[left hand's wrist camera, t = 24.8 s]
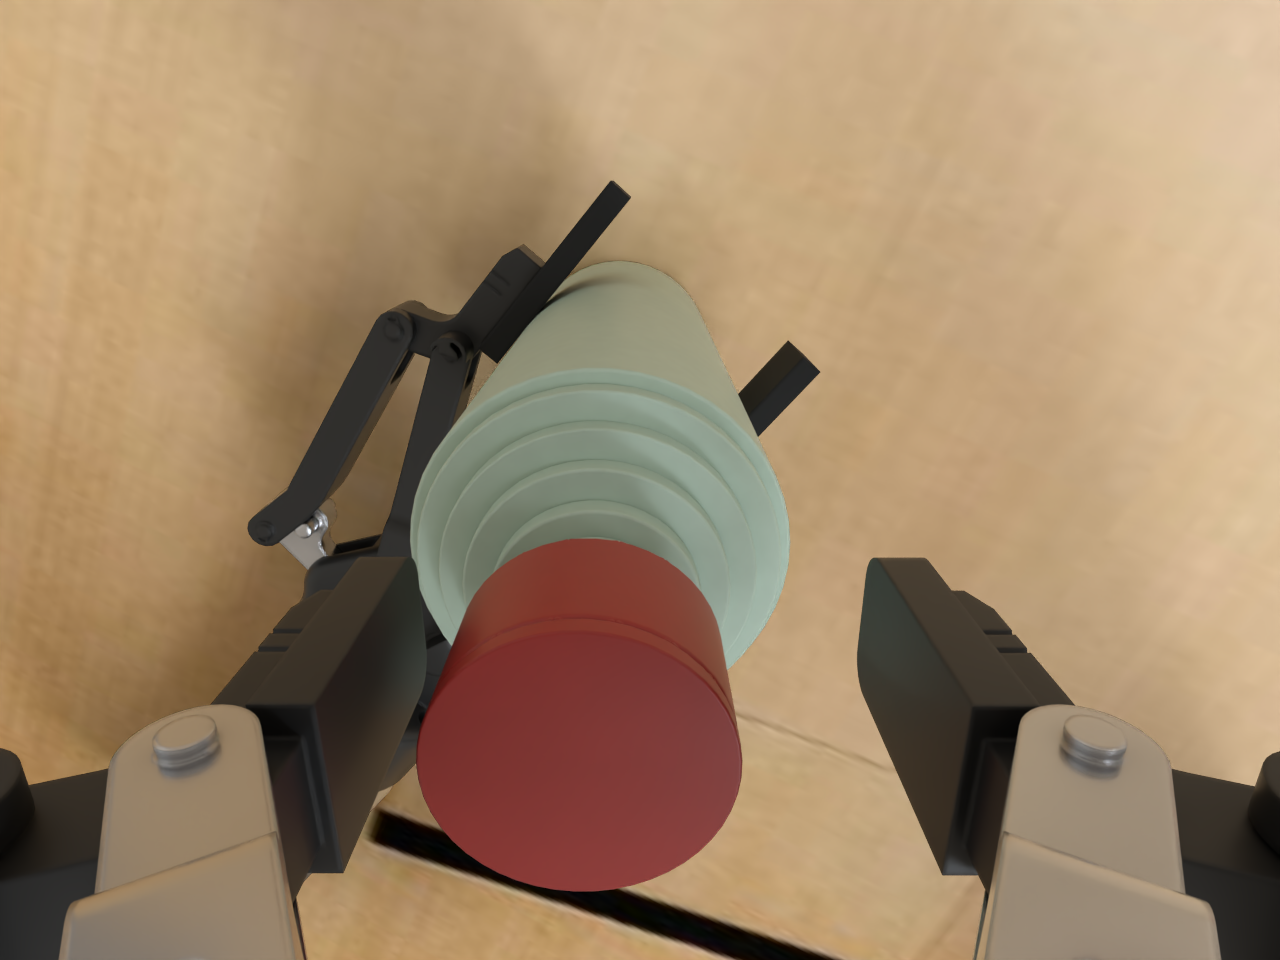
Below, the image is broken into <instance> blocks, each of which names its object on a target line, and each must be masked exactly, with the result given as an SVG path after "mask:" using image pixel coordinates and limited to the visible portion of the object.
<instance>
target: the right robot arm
mask: <svg viewBox="0 0 1280 960" xmlns="http://www.w3.org/2000/svg"><path fill="white" fill-rule="evenodd" d="M630 198H631V196H629V195H628V194H627V193H626V192H625V191H624V190H623V189H622V188H621V187H620V186H619V185H617V184H616V183H615V182H614V181H610V182H609V184H608V185H607V186H606V187H605V189H604V190H603V191H602V192H601V194H600V195H599V196H598V197H597V199H596V200H595V201H594V202H593V204H592V205H591V206H590V208H589V209H588V210H587V211H586V213H585V214H584V215H583V216H582V218H581V219H580V220H579V221H578V223H577V224H576V225H575V227H574V228H573V229H572V230H571V232H570V233H569V234H568V235H567V237H566V238H565V239H564V240H563V242H562V243H561V244H560V245H559V247H558V248H557V249H556V251H555V252H554V253H553V254H552V256H551V257H550V258H549V259H548V261H547V262H546V263H545V262H544V261H543V260H542V259H540V258H539V257H538V256H537V255H536V254H535V253H533V252H532V251H531V250H530V249H529V248H528V247H526V246H525V245H524V244H523V245H521V246H520V247H518V248H516V249H514V250H512V251H511V252H509V253H507V254H505V255H503V256H502V257H501V259H500V260H499V261H498V263H497V264H496V265H495V267H494V268H493V269H492V271H491V272H490V273H489V274H488V276H487V277H486V278H485V280H484V281H483V282H482V283H481V285H480V286H479V287H478V289H477V290H476V291H475V292H474V294H473V295H472V296H471V298H470V299H469V300H468V302H467V303H466V304H465V305H464V307H463V308H462V309H461V311H460V312H459V313H458V314H454V315H446V314H442V313H439V312H436V311H434V310H431V309H428V308H427V307H426V306H425V305H424V304H423V303H421V302H418V301H407V302H405V303H402V304H400V305H398V306H396V307H394V308H392V309H391V310H389V311H387V312H385V313H383V314H381V315H380V317H379V318H378V319H377V320H376V322H375V324H374V326H373V328H372V329H371V331H370V333H369V335H368V337H367V339H366V341H365V343H364V345H363V347H362V348H361V350H360V352H359V354H358V356H357V358H356V360H355V362H354V364H353V365H352V367H351V369H350V371H349V373H348V375H347V377H346V379H345V381H344V383H343V384H342V386H341V388H340V390H339V392H338V394H337V396H336V398H335V400H334V401H333V403H332V405H331V407H330V409H329V411H328V413H327V415H326V417H325V419H324V420H323V422H322V424H321V426H320V428H319V430H318V432H317V434H316V436H315V437H314V439H313V441H312V443H311V445H310V447H309V449H308V451H307V453H306V455H305V456H304V458H303V460H302V462H301V464H300V466H299V468H298V470H297V472H296V473H295V475H294V477H293V479H292V481H291V483H290V485H289V487H287V488H286V489H285V490H284V491H282V492H281V493H280V494H279V495H278V496H277V497H275V498H274V499H273V500H272V501H271V502H270V503H269V504H267V505H266V506H265V507H264V508H263V509H262V510H261V511H259V512H258V513H257V514H256V515H255V516H254V517H253V518H252V519H251V520H250V521H249V523H248V532H249V535H250V536H251V538H252V539H253V540H254V541H255V542H257V543H258V544H261V545H264V546H273V545H275V544H277V543H279V542H280V543H281V544H282V545H283V546H284V547H285V548H286V549H287V550H288V551H289V552H290V553H291V554H292V555H293V556H294V557H295V558H296V559H297V560H298V561H299V562H300V563H301V564H302V565H303V566H304V567H305V568H306V569H307V570H308V571H307V573H306V576H305V580H304V593H303V597H302V599H301V601H300V602H302V601H303V600H305V599H307V598H308V597H310V596H311V595H313V594H315V593H316V592H318V591H320V590H333V589H334V588H335V587H336V585H337V584H338V583H339V582H340V580H341V579H342V578H343V576H344V575H345V574H346V572H347V571H348V570H349V569H350V567H351V566H352V565H353V563H354V562H355V561H356V560H357V559H358V558H359V557H412V553H411V544H410V531H411V516H412V510H413V505H414V499H415V495H416V492H417V489H418V486H419V483H420V480H421V477H422V475H423V473H424V471H425V469H426V467H427V465H428V463H429V461H430V459H431V457H432V455H433V453H434V452H435V450H436V449H437V448H438V446H439V445H440V444H441V442H442V441H443V439H444V438H445V437H446V435H447V434H448V432H449V431H450V430H451V428H452V427H453V426H454V424H455V423H456V422H457V420H458V419H459V418H460V416H461V415H462V414H463V412H464V411H465V409H466V407H467V403H468V400H469V396H470V393H471V389H472V385H473V382H474V378H475V375H476V371H477V368H478V364H479V360H480V357H481V353H482V352H483V353H485V354H486V355H487V356H488V357H490V358H491V359H492V360H493V361H495V362H496V363H498V362H499V361H500V360H501V358H502V357H503V356H504V355H505V353H506V352H507V351H508V350H509V348H510V347H511V346H512V345H513V343H514V342H515V341H516V340H517V338H518V337H519V336H520V335H521V333H522V332H523V331H524V330H525V328H526V327H527V326H528V325H529V324H530V322H531V321H532V320H533V319H534V317H535V316H536V315H537V314H538V312H539V311H540V310H541V309H542V307H543V306H544V305H545V304H546V302H547V301H548V300H549V299H550V297H551V296H552V295H553V294H554V293H555V291H556V290H557V289H558V288H559V286H560V285H561V284H562V283H563V281H564V280H565V279H566V278H567V276H568V275H569V274H570V273H571V271H572V270H573V269H574V268H575V266H576V265H577V264H578V263H579V261H580V260H581V259H582V258H583V257H584V255H585V254H586V253H587V252H588V250H589V249H590V248H591V247H592V245H593V244H594V243H595V242H596V240H597V239H598V238H599V237H600V235H601V234H602V233H603V232H604V230H605V229H606V228H607V227H608V225H609V224H610V223H611V222H612V221H613V219H614V218H615V217H616V216H617V214H618V213H619V212H620V211H621V209H622V208H623V207H624V206H625V204H626V203H627V202H628V201H629V199H630ZM415 353H417V354H419V355H422V356H425V357H428V358H430V362H429V366H428V370H427V374H426V378H425V382H424V386H423V389H422V393H421V397H420V401H419V405H418V409H417V413H416V417H415V420H414V424H413V428H412V432H411V436H410V440H409V444H408V448H407V451H406V455H405V459H404V463H403V467H402V471H401V475H400V479H399V482H398V486H397V490H396V494H395V498H394V502H393V506H392V510H391V513H390V516H389V518H388V520H387V522H386V525H385V528H384V530H383V534H379V535H375V536H370V537H366V538H361V539H357V540H352V541H348V542H343V543H339V544H335V543H334V542H333V540H332V538H331V536H330V529H331V526H332V525H333V523H334V522H335V520H336V518H337V511H336V508H335V507H336V506H335V502H334V501H333V500H332V499H330V498H329V497H330V496H331V495H332V494H333V493H334V492H335V491H336V490H337V489H338V488H339V486H340V485H341V484H342V483H343V482H344V480H345V479H346V477H347V475H348V474H349V472H350V471H351V469H352V467H353V465H354V463H355V462H356V460H357V458H358V456H359V454H360V452H361V451H362V449H363V447H364V445H365V443H366V442H367V440H368V438H369V436H370V434H371V433H372V431H373V429H374V427H375V425H376V424H377V422H378V420H379V418H380V416H381V415H382V413H383V411H384V409H385V407H386V406H387V404H388V402H389V400H390V398H391V397H392V395H393V393H394V391H395V389H396V387H397V386H398V384H399V382H400V380H401V378H402V377H403V375H404V373H405V371H406V369H407V368H408V366H409V364H410V362H411V360H412V359H413V357H414V355H415ZM819 373H820V371H819V370H818V369H817V368H816V367H815V366H814V365H813V364H812V363H811V362H810V361H809V360H808V359H807V358H806V357H805V356H804V355H803V354H802V353H801V352H800V351H799V350H798V349H797V348H796V347H795V346H794V345H793V344H791V343H790V342H789V341H787V342H786V343H785V344H784V346H783V347H782V348H781V349H780V350H779V351H778V352H777V353H776V354H775V355H774V356H773V357H772V358H771V359H770V361H769V362H768V363H767V364H766V365H765V366H764V367H763V368H762V369H761V370H760V371H759V372H758V373H757V374H756V376H755V377H754V378H753V379H752V380H751V381H750V382H749V383H748V384H747V385H746V386H745V387H744V388H743V390H742V391H741V392H740V393H739V394H738V395H739V398H740V400H741V402H742V404H743V406H744V408H745V410H746V413H747V415H748V417H749V419H750V421H751V423H752V425H753V428H754V430H755V432H756V434H757V436H759V435H760V434H761V433H762V432H763V431H764V430H765V429H766V428H767V427H768V426H769V425H770V424H771V423H772V422H773V421H774V420H775V419H776V418H777V417H778V416H779V415H780V414H781V412H782V411H783V410H784V409H785V408H786V407H787V406H788V405H789V404H790V403H791V402H792V401H793V400H794V399H795V398H796V397H797V396H798V395H799V394H800V393H801V392H802V391H803V390H804V389H805V387H806V386H807V385H808V384H809V383H810V382H811V381H812V380H813V379H814V378H815V377H816V376H817V375H818V374H819ZM420 596H421V605H422V614H423V623H424V631H425V640H426V650H427V666H426V676H425V682H424V686H423V690H422V693H421V695H420V697H419V700H418V702H417V704H416V707H415V709H414V711H413V714H412V716H411V718H410V720H409V723H408V725H407V727H406V730H405V732H404V734H403V737H402V739H401V741H400V744H399V746H398V748H397V750H396V753H395V755H394V757H393V760H392V762H391V764H390V767H389V769H388V771H387V773H386V776H385V778H384V780H383V783H382V785H381V787H380V790H379V792H378V794H377V796H376V799H375V801H374V803H373V806H372V808H371V810H372V809H373V808H374V807H375V806H376V805H377V804H378V803H379V802H380V801H381V800H382V799H383V798H384V797H385V796H386V795H387V794H388V793H389V792H390V790H391V788H392V786H393V785H394V784H395V783H397V782H398V781H399V780H400V779H401V778H402V777H403V776H404V775H405V774H406V773H407V772H408V771H409V770H410V769H411V768H412V767H413V766H414V765H415V764H416V747H417V740H418V735H419V730H420V726H421V724H422V721H423V718H424V716H425V713H426V711H427V708H428V706H429V703H430V700H431V698H432V696H433V693H434V690H435V688H436V685H437V683H438V680H439V678H440V675H441V673H442V670H443V668H444V665H445V662H446V660H447V657H448V655H449V652H450V650H451V647H452V646H451V644H450V643H449V642H448V640H447V639H446V638H445V637H444V635H443V634H442V632H441V630H440V628H439V627H438V625H437V623H436V622H435V620H434V618H433V616H432V614H431V613H430V611H429V609H428V608H427V605H426V603H425V601H424V598H423V596H422V593H421V591H420ZM300 602H299V603H300ZM371 810H370V812H371ZM310 874H311V873H308V874H307V876H306V878H305V880H306V879H307V878H308V877H309V876H310ZM305 880H304V881H305Z"/></svg>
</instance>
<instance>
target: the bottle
mask: <svg viewBox="0 0 1280 960" xmlns="http://www.w3.org/2000/svg"><path fill="white" fill-rule="evenodd" d="M566 539H568V540H569V539H605V540H617V541H619V542H620V541H621V542H624V543H627V544H631V545H634V546H636V547H639V548H642V549H645V550H647V551H649V552H651V553H653V554H655V555H657V556H659V557H662V558H664V559H665V560H667V561H668V562H670V563H671V564H672V565H674V566H675V567H676V568H678V569H679V570H680V571H681V572H683V573H684V574H685V575H686V576H687V577H688V578H689V579H690V580H691V581H692V582H693V583H694V584H695V585H696V586H697V588H698V589H699V590H700V591H701V592H702V594H703V595H704V597H705V598H706V600H707V602H708V603H709V605H710V606H711V609H712V611H713V613H714V616H715V618H716V620H717V623H718V627H719V631H720V634H721V640H722V645H723V651H724V656H725V661H726V667H727V670H728V669H729V668H730V667H731V666H732V665H733V664H734V663H735V662H736V661H737V660H738V659H739V658H740V657H741V656H742V655H743V654H744V653H745V651H746V650H747V649H748V648H749V646H750V645H751V644H752V643H753V642H754V640H755V639H756V638H757V636H758V635H759V634H760V632H761V631H762V630H763V628H764V627H765V625H766V623H767V621H768V619H769V618H770V616H771V614H772V612H773V610H774V609H775V607H776V604H777V602H778V599H779V596H780V594H781V591H782V589H783V586H784V582H785V577H786V573H787V569H788V563H789V551H790V531H789V519H788V514H787V509H786V505H785V500H784V496H783V493H782V491H781V488H780V485H779V483H778V480H777V477H776V475H775V473H774V470H773V468H772V466H771V464H770V462H769V460H768V458H767V455H766V453H765V451H764V449H763V447H762V445H761V443H760V440H759V438H758V436H757V434H756V432H755V430H754V428H753V425H752V423H751V421H750V419H749V417H748V415H747V413H746V410H745V408H744V406H743V404H742V402H741V400H740V398H739V395H738V393H737V391H736V389H735V387H734V385H733V383H732V380H731V378H730V376H729V374H728V372H727V370H726V368H725V365H724V363H723V361H722V359H721V357H720V355H719V353H718V350H717V348H716V346H715V344H714V342H713V340H712V338H711V335H710V333H709V331H708V329H707V327H706V325H705V323H704V320H703V318H702V316H701V314H700V312H699V310H698V308H697V306H696V305H695V303H694V301H693V300H692V298H691V297H690V296H689V294H688V293H687V292H686V291H685V290H684V289H683V288H682V287H681V286H680V284H678V283H677V282H676V281H675V280H673V279H672V278H671V277H669V276H668V275H666V274H664V273H663V272H661V271H659V270H657V269H655V268H652V267H650V266H647V265H644V264H640V263H635V262H628V261H611V262H603V263H599V264H595V265H592V266H589V267H586V268H584V269H582V270H579V271H578V272H576V273H574V274H573V275H571V276H569V277H568V278H567V279H566V280H564V281H563V283H562V284H561V285H560V286H559V288H558V289H557V290H556V291H555V293H554V294H553V295H552V296H551V297H550V299H549V300H548V301H547V302H546V304H545V305H544V306H543V307H542V309H541V310H540V311H539V312H538V314H537V315H536V316H535V317H534V319H533V320H532V321H531V322H530V324H529V325H528V326H527V327H526V328H525V330H524V331H523V332H522V334H521V335H520V337H519V338H518V339H517V341H516V342H515V343H514V345H513V346H512V347H511V349H510V350H509V351H508V353H507V354H506V355H505V357H504V358H503V360H502V361H501V362H500V364H499V365H498V366H497V368H496V369H495V370H494V372H493V373H492V374H491V376H490V377H489V378H488V380H487V381H486V382H485V384H484V385H483V387H482V388H481V389H480V391H479V392H478V393H477V395H476V396H475V397H474V399H473V400H472V401H471V403H470V404H469V405H468V407H467V408H466V409H465V411H464V412H463V414H462V415H461V416H460V418H459V419H458V420H457V422H456V423H455V424H454V426H453V427H452V428H451V430H450V431H449V432H448V434H447V435H446V437H445V438H444V439H443V441H442V442H441V444H440V445H439V446H438V448H437V449H436V450H435V452H434V453H433V455H432V457H431V459H430V461H429V463H428V465H427V467H426V469H425V471H424V473H423V475H422V477H421V480H420V483H419V486H418V489H417V492H416V495H415V499H414V505H413V510H412V516H411V531H410V544H411V553H412V558H413V559H414V561H415V563H416V566H417V571H418V578H419V587H420V591H421V593H422V596H423V598H424V601H425V603H426V605H427V608H428V609H429V611H430V613H431V614H432V616H433V618H434V620H435V622H436V623H437V625H438V627H439V628H440V630H441V632H442V634H443V635H444V637H445V638H446V639H447V640H448V642H449V643H450V644H451V646H452V645H453V642H454V640H455V637H456V635H457V632H458V630H459V627H460V625H461V622H462V619H463V617H464V614H465V612H466V609H467V607H468V605H469V603H470V602H471V600H472V598H473V596H474V595H475V593H476V592H477V591H478V589H479V588H480V587H481V585H482V584H483V583H484V582H485V581H486V580H487V579H488V578H489V577H490V576H491V575H492V574H493V573H494V572H495V571H496V570H497V569H499V568H500V567H501V566H503V565H504V564H505V563H507V562H508V561H510V560H511V559H513V558H515V557H517V556H518V555H520V554H522V553H523V552H526V551H529V550H531V549H534V548H537V547H539V546H542V545H545V544H549V543H553V542H557V541H562V540H566Z"/></svg>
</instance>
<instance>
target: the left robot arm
mask: <svg viewBox="0 0 1280 960" xmlns="http://www.w3.org/2000/svg"><path fill="white" fill-rule="evenodd" d="M426 666H427V650H426V640H425V631H424V623H423V614H422V605H421V596H420V587H419V578H418V571H417V566H416V563H415V561H414V559H413V558H412V557H359V558H358V559H357V560H356V561H355V562H354V563H353V565H352V566H351V567H350V569H349V570H348V571H347V572H346V574H345V575H344V576H343V578H342V579H341V580H340V582H339V583H338V584H337V585H336V587H335V588H334V589H333V590H320V591H318V592H316V593H315V594H313V595H311V596H310V597H308V598H307V599H305V600H303V601H302V602H300V603H298V604H297V605H295V606H293V607H292V608H291V609H290V610H289V611H288V612H287V613H286V615H285V616H284V617H283V618H282V619H281V621H280V622H279V623H278V624H277V625H276V627H275V628H274V629H273V634H269V635H268V636H267V637H266V639H265V640H264V641H263V642H262V643H261V645H260V646H259V650H258V652H254V653H253V654H252V655H251V657H250V658H249V659H248V660H247V661H246V663H245V664H244V665H243V666H242V667H241V669H240V670H239V671H238V672H237V673H236V675H235V676H234V677H233V678H232V679H231V681H230V682H229V683H228V684H227V685H226V687H225V688H224V689H223V690H222V691H221V693H220V694H219V695H218V696H217V697H216V699H215V700H214V701H213V702H212V703H211V705H207V706H199V707H195V708H190V709H186V710H183V711H180V712H177V713H174V714H171V715H169V716H166V717H164V718H161V719H159V720H157V721H155V722H153V723H151V724H149V725H148V726H146V727H144V728H143V729H141V730H139V731H138V732H137V733H135V734H134V735H133V736H131V737H130V738H129V739H128V740H127V741H125V742H124V743H123V744H122V745H121V746H120V748H119V749H118V750H117V751H116V752H115V754H114V756H113V758H112V759H111V761H110V765H109V769H104V770H100V771H95V772H91V773H86V774H81V775H76V776H71V777H66V778H62V779H57V780H52V781H47V782H42V783H37V784H32V785H28V782H27V779H26V777H25V774H24V771H23V768H22V765H21V762H20V760H19V758H18V757H17V755H15V754H14V753H12V752H11V751H8V750H5V749H2V748H0V960H308V958H307V952H306V946H305V941H304V935H303V929H302V923H301V918H300V912H299V908H298V903H297V898H296V896H297V894H298V892H299V890H300V888H301V886H302V884H303V882H304V880H305V878H306V876H307V874H308V873H344V870H345V868H346V866H347V863H348V861H349V859H350V856H351V854H352V852H353V849H354V847H355V845H356V843H357V840H358V838H359V836H360V833H361V831H362V829H363V826H364V824H365V822H366V820H367V817H368V815H369V813H370V810H371V808H372V806H373V803H374V801H375V799H376V796H377V794H378V792H379V790H380V787H381V785H382V783H383V780H384V778H385V776H386V773H387V771H388V769H389V767H390V764H391V762H392V760H393V757H394V755H395V753H396V750H397V748H398V746H399V744H400V741H401V739H402V737H403V734H404V732H405V730H406V727H407V725H408V723H409V720H410V718H411V716H412V714H413V711H414V709H415V707H416V704H417V702H418V700H419V697H420V695H421V693H422V690H423V686H424V682H425V676H426ZM857 667H858V677H859V683H860V687H861V691H862V694H863V696H864V698H865V701H866V703H867V705H868V707H869V710H870V712H871V714H872V717H873V719H874V721H875V723H876V726H877V728H878V730H879V732H880V735H881V737H882V739H883V742H884V744H885V746H886V748H887V751H888V753H889V755H890V757H891V760H892V762H893V764H894V766H895V769H896V771H897V773H898V776H899V778H900V780H901V782H902V785H903V787H904V789H905V791H906V794H907V796H908V798H909V800H910V803H911V805H912V807H913V810H914V812H915V814H916V816H917V819H918V821H919V823H920V825H921V828H922V830H923V832H924V834H925V837H926V839H927V841H928V844H929V846H930V848H931V850H932V853H933V855H934V857H935V859H936V862H937V864H938V866H939V868H940V871H941V873H942V875H979V877H980V879H981V882H982V884H983V886H984V888H985V893H984V898H983V903H982V908H981V912H980V918H979V923H978V929H977V935H976V941H975V946H974V952H973V958H972V960H1280V751H1279V752H1276V753H1273V754H1272V755H1270V756H1269V757H1267V758H1266V760H1265V761H1264V763H1263V765H1262V768H1261V771H1260V774H1259V777H1258V779H1257V782H1256V785H1255V787H1254V786H1249V785H1245V784H1240V783H1235V782H1230V781H1225V780H1220V779H1216V778H1211V777H1206V776H1201V775H1196V774H1191V773H1187V772H1182V771H1178V770H1174V769H1171V765H1170V761H1169V759H1168V758H1167V756H1166V754H1165V752H1164V751H1163V750H1162V749H1161V748H1160V746H1159V745H1158V744H1157V743H1156V742H1155V741H1153V740H1152V739H1151V738H1150V737H1149V736H1147V735H1146V734H1145V733H1143V732H1142V731H1141V730H1139V729H1137V728H1136V727H1134V726H1132V725H1131V724H1129V723H1127V722H1125V721H1123V720H1121V719H1119V718H1116V717H1114V716H1111V715H1109V714H1106V713H1103V712H1100V711H1097V710H1094V709H1090V708H1085V707H1081V706H1075V705H1074V704H1073V702H1072V701H1071V700H1070V699H1069V698H1068V696H1067V695H1066V694H1065V693H1064V692H1063V691H1062V689H1061V688H1060V687H1059V686H1058V685H1057V683H1056V682H1055V681H1054V680H1053V679H1052V678H1051V676H1050V675H1049V674H1048V673H1047V672H1046V670H1045V669H1044V668H1043V667H1042V666H1041V664H1040V663H1039V662H1038V661H1037V660H1036V659H1035V657H1034V656H1033V655H1032V654H1031V653H1027V648H1026V647H1025V645H1024V644H1023V643H1022V642H1021V641H1020V640H1019V638H1018V637H1017V636H1016V635H1012V630H1011V629H1010V628H1009V627H1008V625H1007V624H1006V623H1005V622H1004V621H1003V619H1002V618H1001V617H1000V616H999V615H998V613H997V612H996V611H995V610H994V609H993V608H991V607H990V606H988V605H986V604H985V603H983V602H981V601H980V600H978V599H976V598H975V597H973V596H972V595H970V594H968V593H967V592H965V591H951V589H950V588H949V587H948V585H947V584H946V583H945V582H944V580H943V579H942V578H941V576H940V575H939V574H938V573H937V571H936V570H935V569H934V567H933V566H932V565H931V564H930V562H929V561H928V560H927V559H925V558H872V559H871V561H870V562H869V565H868V568H867V572H866V580H865V589H864V597H863V606H862V615H861V624H860V633H859V641H858V651H857Z"/></svg>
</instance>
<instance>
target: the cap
mask: <svg viewBox="0 0 1280 960" xmlns="http://www.w3.org/2000/svg"><path fill="white" fill-rule="evenodd" d="M416 766H417V773H418V780H419V783H420V787H421V790H422V793H423V797H424V799H425V801H426V803H427V805H428V807H429V809H430V812H431V813H432V815H433V816H434V818H435V819H436V821H437V822H438V824H439V825H440V827H441V828H442V829H443V830H444V832H445V833H446V834H447V835H448V836H449V837H450V838H451V840H452V841H453V842H454V843H456V844H457V845H458V846H459V847H460V848H461V849H462V850H464V851H465V852H466V853H467V854H468V855H470V856H471V857H473V858H474V859H476V860H477V861H479V862H480V863H481V864H483V865H485V866H487V867H489V868H491V869H492V870H494V871H496V872H498V873H500V874H503V875H505V876H508V877H510V878H512V879H515V880H518V881H521V882H524V883H528V884H531V885H535V886H539V887H545V888H550V889H555V890H566V891H600V890H610V889H617V888H621V887H626V886H631V885H635V884H638V883H641V882H644V881H648V880H651V879H653V878H655V877H658V876H660V875H662V874H665V873H667V872H669V871H671V870H672V869H674V868H676V867H678V866H679V865H681V864H683V863H684V862H686V861H687V860H689V859H690V858H691V857H693V856H694V855H695V854H697V853H698V852H699V851H700V850H701V849H702V848H703V847H704V846H705V845H706V844H707V843H708V842H710V841H711V840H712V838H713V837H714V836H715V835H716V833H717V832H718V831H719V830H720V828H721V827H722V826H723V824H724V822H725V820H726V819H727V817H728V815H729V814H730V812H731V810H732V807H733V805H734V802H735V800H736V797H737V795H738V791H739V786H740V782H741V776H742V753H741V743H740V738H739V732H738V728H737V722H736V716H735V711H734V705H733V700H732V694H731V689H730V683H729V678H728V672H727V667H726V661H725V656H724V651H723V645H722V640H721V634H720V631H719V627H718V623H717V620H716V618H715V616H714V613H713V611H712V609H711V606H710V605H709V603H708V602H707V600H706V598H705V597H704V595H703V594H702V592H701V591H700V590H699V589H698V588H697V586H696V585H695V584H694V583H693V582H692V581H691V580H690V579H689V578H688V577H687V576H686V575H685V574H684V573H683V572H681V571H680V570H679V569H678V568H676V567H675V566H674V565H672V564H671V563H670V562H668V561H667V560H665V559H664V558H662V557H659V556H657V555H655V554H653V553H651V552H649V551H647V550H645V549H642V548H639V547H636V546H634V545H631V544H627V543H624V542H621V541H620V542H619V541H617V540H605V539H569V540H568V539H566V540H562V541H557V542H553V543H549V544H545V545H542V546H539V547H537V548H534V549H531V550H529V551H526V552H523V553H522V554H520V555H518V556H517V557H515V558H513V559H511V560H510V561H508V562H507V563H505V564H504V565H503V566H501V567H500V568H499V569H497V570H496V571H495V572H494V573H493V574H492V575H491V576H490V577H489V578H488V579H487V580H486V581H485V582H484V583H483V584H482V585H481V587H480V588H479V589H478V591H477V592H476V593H475V595H474V596H473V598H472V600H471V602H470V603H469V605H468V607H467V609H466V612H465V614H464V617H463V619H462V622H461V625H460V627H459V630H458V632H457V635H456V637H455V640H454V642H453V645H452V647H451V650H450V652H449V655H448V657H447V660H446V662H445V665H444V668H443V670H442V673H441V675H440V678H439V680H438V683H437V685H436V688H435V690H434V693H433V696H432V698H431V700H430V703H429V706H428V708H427V711H426V713H425V716H424V718H423V721H422V724H421V726H420V730H419V735H418V740H417V747H416Z"/></svg>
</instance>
